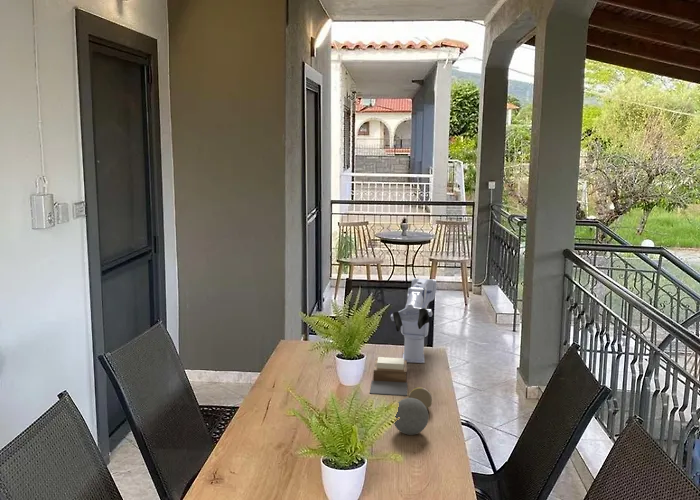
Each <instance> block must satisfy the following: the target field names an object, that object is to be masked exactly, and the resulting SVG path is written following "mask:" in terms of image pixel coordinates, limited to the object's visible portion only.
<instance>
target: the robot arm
mask: <svg viewBox="0 0 700 500" xmlns="http://www.w3.org/2000/svg"><path fill="white" fill-rule="evenodd" d="M437 283H438V281H437V280H436V278H434V279H433V278H432V279H430V278H428V279H427V278H416V277H413V278H412V279H411V285H410V287H408V289H407V295H406V296H407V297H406V303H405V307H404V308H403V309H401V310H398V311H394V312H392V313H391V314H390V319H391V322H394V325H395V329H396V332H399V331H400V332H401V334H402V335H403V338H404V342H403V344H404V345H403V346H404V347H403V348H404V349H403V353H402V358H404V360H407V363H417V364H425V349H424V348H425V337H427V336H428V335H429V329H430V317H433V311H432V308H428V305H429V304H430V302H432V301H434V299H435V298H436V293H437V288H438V287H437V286H438V285H437Z"/></svg>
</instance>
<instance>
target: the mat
mask: <svg viewBox="0 0 700 500" xmlns="http://www.w3.org/2000/svg"><path fill="white" fill-rule="evenodd" d="M369 394H370V395H387V396H401V397H402V396H403V397H404V396H405V397H407V396H408V382H406V383H405V382H388V381H373V380H371V384H370V388H369Z"/></svg>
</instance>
